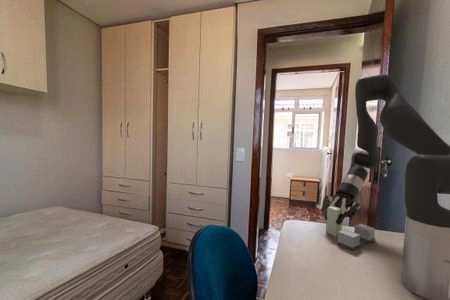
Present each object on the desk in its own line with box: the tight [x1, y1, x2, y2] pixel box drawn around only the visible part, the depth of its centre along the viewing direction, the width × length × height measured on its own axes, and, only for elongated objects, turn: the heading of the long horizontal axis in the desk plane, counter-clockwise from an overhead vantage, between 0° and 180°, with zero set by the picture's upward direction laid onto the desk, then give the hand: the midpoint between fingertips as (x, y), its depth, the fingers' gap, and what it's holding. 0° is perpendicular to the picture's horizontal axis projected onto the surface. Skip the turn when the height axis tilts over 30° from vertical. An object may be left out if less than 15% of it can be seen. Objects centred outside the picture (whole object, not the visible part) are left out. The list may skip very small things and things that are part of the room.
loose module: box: [325, 206, 343, 237], centre depth 85 cm, size 4×4×10 cm
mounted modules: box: [337, 223, 376, 248], centre depth 78 cm, size 5×16×4 cm, turn 124°
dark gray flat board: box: [336, 237, 376, 252], centre depth 78 cm, size 6×16×1 cm, turn 124°
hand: (331, 221), depth 84 cm, fingers closed on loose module, 4 cm apart
